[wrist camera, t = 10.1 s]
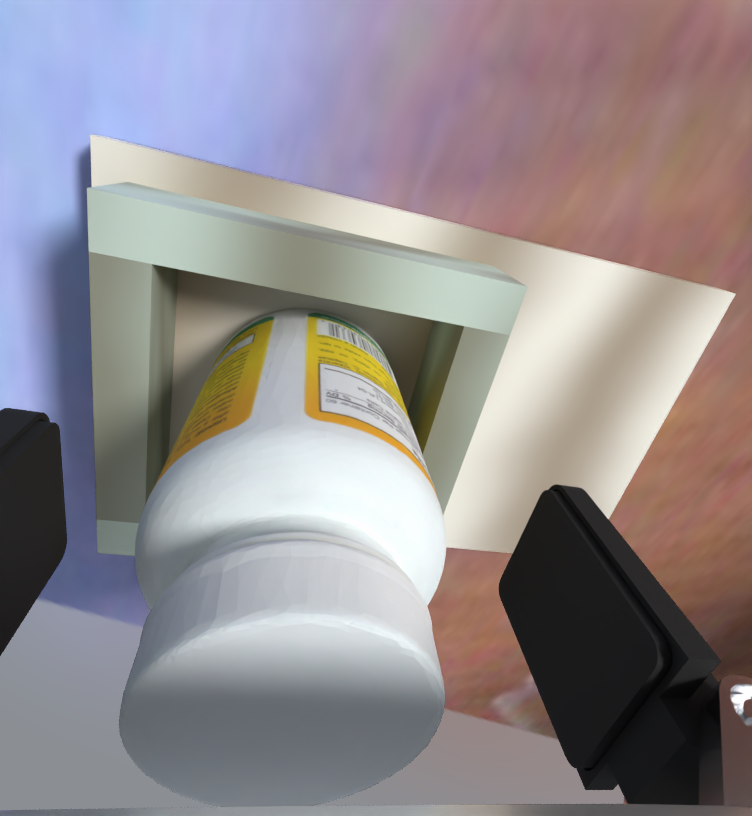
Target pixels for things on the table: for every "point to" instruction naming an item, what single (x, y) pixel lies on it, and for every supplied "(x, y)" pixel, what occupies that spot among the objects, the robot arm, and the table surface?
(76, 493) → the table surface
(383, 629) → the supplement bottle
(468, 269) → the bottle caddy
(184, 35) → the table surface
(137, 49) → the table surface
